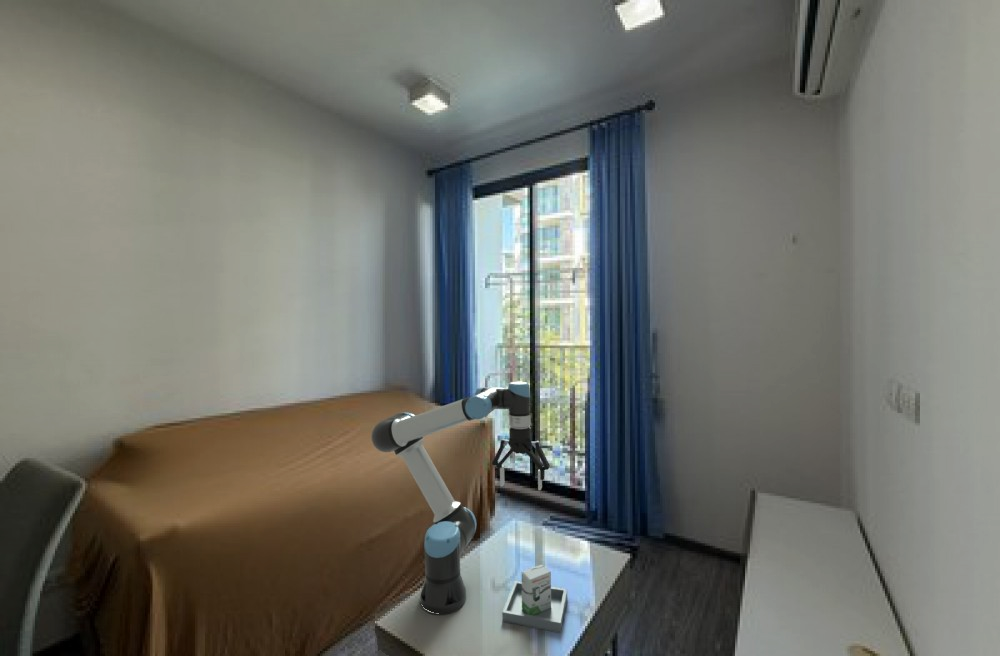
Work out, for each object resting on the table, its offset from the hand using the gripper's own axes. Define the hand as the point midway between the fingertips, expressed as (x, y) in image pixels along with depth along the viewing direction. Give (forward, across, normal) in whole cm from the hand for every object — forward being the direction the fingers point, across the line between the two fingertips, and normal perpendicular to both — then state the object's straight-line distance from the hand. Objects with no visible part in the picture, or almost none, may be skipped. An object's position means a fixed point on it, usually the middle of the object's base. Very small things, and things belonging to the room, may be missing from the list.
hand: (521, 487), depth 143 cm
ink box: (+34, +7, -11) cm, 37 cm away
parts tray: (+35, +7, -11) cm, 37 cm away
